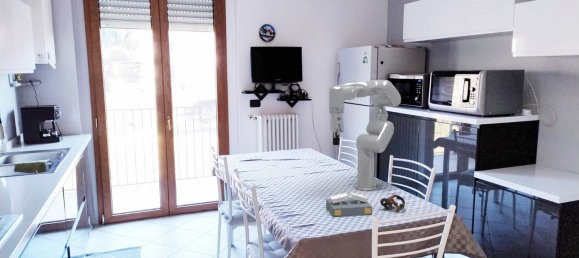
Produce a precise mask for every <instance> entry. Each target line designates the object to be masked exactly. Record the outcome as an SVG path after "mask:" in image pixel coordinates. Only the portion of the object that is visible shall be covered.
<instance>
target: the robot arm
mask: <svg viewBox="0 0 579 258" xmlns="http://www.w3.org/2000/svg"><path fill="white" fill-rule="evenodd" d="M328 93H329V95H328V97H329V98H328V100H329V101H328V105H329V106H328V107H329V108H328V110H329V111H328V114H330V119H329V121H330V122H329V124H330V131H332V146H340V137H341V133H344V116H343V115H344V112H345V111H344V110H345V104H344V103H345V101H352V100H355V99H356V98H366V97H369V96H372V102H373V107H374V110H373V114H372V115H371V118H370V119H369V121H368V123H367V125H366V127H365V130H366V131H365V132H366V133H362V134H359V135H358V136H357V138H356V142H355V144H356V149H357V174H356V175H357V179H356V180H357V183H355V184H354V189H357V190H360V191H364V192H365V191H374V190H376V189H377V185H383V181H381V180H375V155H374V153H376V154H377V153H378V154H382V153H383V152H385V150H386V149H387V146H388V145H389V143H390V141H391V139H392V137H393V135H394V131H395V126H394V123H393V122H391V121H390V120H388V117H389V113H388V111H387V109H386V107H395V108H396V107H398V106H399V105H400V104H401V103H402V101H401V100H402V97H401V94H400V93H399V91H398V89H397V88H396V87H395V85H393V83H392V82H391V81H390V80H388V79H370V80H366V81H359V82H352V83H351V82H350V83H342V84H338V85H335V86H331V87H329V90H328Z"/></svg>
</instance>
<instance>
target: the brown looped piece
mask: <svg viewBox="0 0 579 258" xmlns="http://www.w3.org/2000/svg"><path fill="white" fill-rule="evenodd" d="M394 198H396V199H397V200H399V201H401V203H400V204H399V202H397V201H396V200H395V199H394ZM379 203H380V205H381V206H382V207H383V209H387V207H388V206H389V207H392V206H394V207H396V209H395V212H396V213H399V212H400V211H402V210H403V209H405V204H406V201H405V198H403V197H402V196H400V195H399V194H392V195H390V196H389V197H387V198H386V197H382V198H381V199H380V200H379Z"/></svg>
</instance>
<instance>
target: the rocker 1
mask: <svg viewBox="0 0 579 258" xmlns="http://www.w3.org/2000/svg"><path fill="white" fill-rule="evenodd" d="M348 198H349V194H347V193H346V192H344V193H340V194H335V195H331V196H329V199H330V201H331V202H332V203H337V202H341V201H345V200H349V199H348Z"/></svg>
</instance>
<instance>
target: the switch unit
mask: <svg viewBox="0 0 579 258" xmlns="http://www.w3.org/2000/svg"><path fill="white" fill-rule="evenodd" d="M348 199H349V200H345V201H341V202H337V203H332V202H331V201H330V198H326V199H325V208H326V210H328V212H329V213H330V215H331V216H332V217H333V218H337V217H338V218H340V217H354V216H355V217H356V216H370V215H373V206H372V204H371V203H370V202H368V201H367V203H366V202H363V201H359V200H355V199H351V198H350V197H348Z"/></svg>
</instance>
